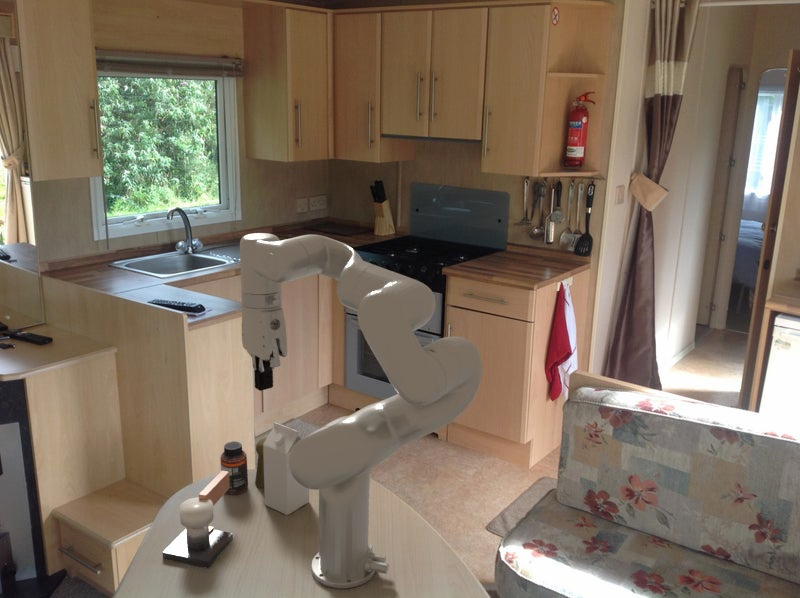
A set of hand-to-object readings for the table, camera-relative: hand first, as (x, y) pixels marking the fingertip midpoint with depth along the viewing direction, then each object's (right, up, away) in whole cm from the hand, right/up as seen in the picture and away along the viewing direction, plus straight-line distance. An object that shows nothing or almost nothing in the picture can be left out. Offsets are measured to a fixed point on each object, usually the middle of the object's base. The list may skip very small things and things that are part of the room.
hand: (264, 387), depth 146 cm
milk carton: (+1, -29, +21) cm, 35 cm away
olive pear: (-4, -26, +29) cm, 39 cm away
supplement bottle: (-12, -27, +26) cm, 39 cm away
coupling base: (-14, -33, +4) cm, 36 cm away
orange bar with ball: (-13, -25, +6) cm, 29 cm away
